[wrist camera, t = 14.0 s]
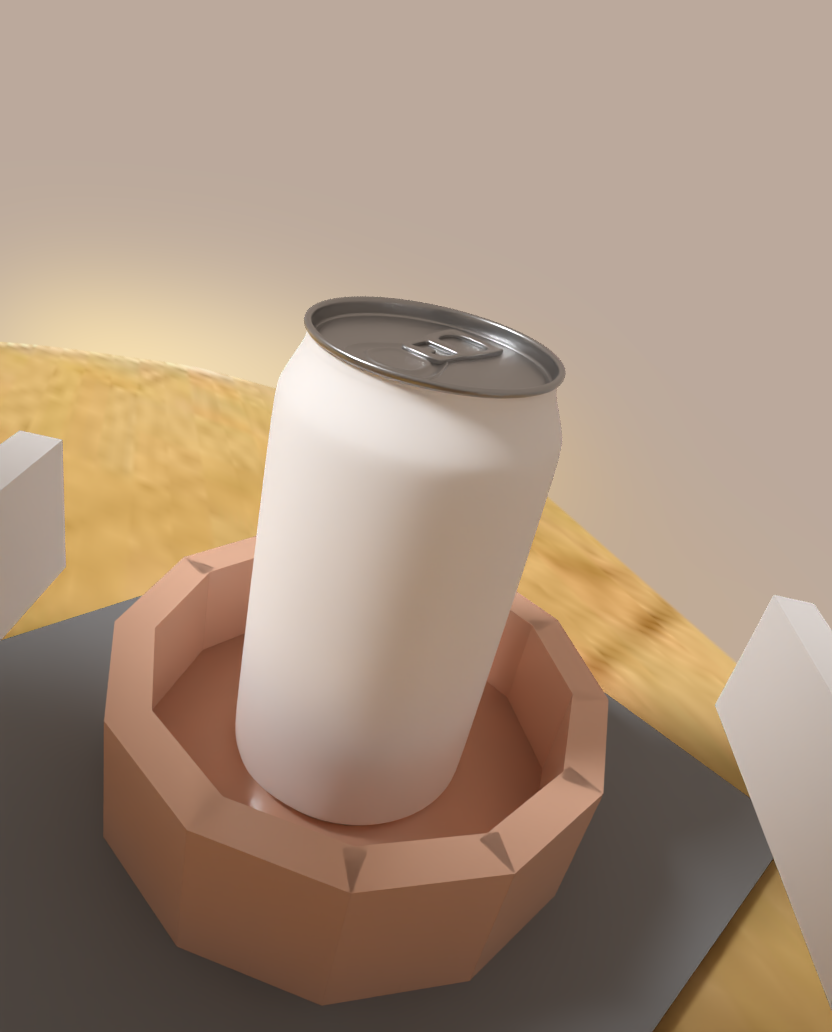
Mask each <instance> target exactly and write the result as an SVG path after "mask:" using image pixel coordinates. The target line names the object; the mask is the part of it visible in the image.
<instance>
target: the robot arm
mask: <svg viewBox="0 0 832 1032" xmlns="http://www.w3.org/2000/svg"><path fill="white" fill-rule="evenodd" d="M65 567H66V558H65V519H64V481H63V442H62V440H61V439H56V438H52V437H47V436H43V435H38V434H33V433H29V432H24V431H18V432H17V433H15V434H14V435H13V436H11V437H10V438H8V439H7V440H6V441H4V442H3V443H2V444H0V641H1V640H2V638H3V637H4V636H5V635H6V634H7V633H8V632H9V631H10V629H11V628H12V627H13V626H14V625H15V624H16V623H17V621H18V620H19V619H20V618H21V617H22V616H23V615H24V614H25V612H26V611H27V610H28V609H29V608H30V607H31V606H32V605H33V603H34V602H35V601H36V600H37V599H38V598H39V597H40V596H41V594H42V593H43V592H44V591H45V590H46V589H47V588H48V586H49V585H50V584H51V583H52V582H53V581H54V580H55V579H56V577H57V576H58V575H59V574H60V573H61V572H62V571H63V570H64V568H65ZM715 707H716V709H717V712H718V715H719V717H720V720H721V722H722V725H723V728H724V730H725V733H726V735H727V738H728V741H729V743H730V746H731V749H732V751H733V754H734V756H735V759H736V762H737V764H738V767H739V769H740V772H741V775H742V777H743V780H744V783H745V785H746V788H747V790H748V793H749V796H750V798H751V801H752V803H753V806H754V809H755V811H756V814H757V817H758V819H759V822H760V824H761V827H762V830H763V832H764V835H765V837H766V840H767V843H768V845H769V848H770V851H771V853H772V856H773V858H774V861H775V864H776V866H777V869H778V871H779V874H780V877H781V879H782V882H783V885H784V887H785V890H786V892H787V895H788V898H789V900H790V903H791V905H792V908H793V911H794V913H795V916H796V919H797V921H798V924H799V926H800V929H801V932H802V934H803V937H804V939H805V942H806V945H807V947H808V950H809V953H810V955H811V958H812V960H813V963H814V966H815V968H816V971H817V973H818V976H819V979H820V981H821V984H822V987H823V989H824V992H825V994H826V997H827V1000H828V1002H829V1005H830V1008H831V1010H832V630H831V629H830V627H829V626H828V624H827V623H826V621H825V620H824V618H823V617H822V615H821V613H820V612H819V611H818V609H817V607H816V606H815V604H814V603H809V602H804V601H800V600H795V599H791V598H786V597H781V596H777V595H774V596H773V597H772V599H771V601H770V603H769V605H768V607H767V609H766V610H765V612H764V614H763V616H762V618H761V620H760V622H759V623H758V625H757V627H756V629H755V631H754V633H753V635H752V637H751V639H750V640H749V642H748V644H747V646H746V648H745V650H744V652H743V654H742V655H741V657H740V659H739V661H738V663H737V665H736V666H735V668H734V670H733V672H732V674H731V676H730V678H729V680H728V681H727V683H726V685H725V687H724V689H723V691H722V693H721V694H720V696H719V698H718V700H717V702H716V704H715Z"/></svg>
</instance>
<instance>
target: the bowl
mask: <svg viewBox="0 0 832 1032" xmlns="http://www.w3.org/2000/svg"><path fill="white" fill-rule="evenodd" d="M256 537H257V536H255V537H251V538H248V539H244V540H241V541H238V542H234V543H231V544H227V545H224V546H220V547H217V548H214V549H210V550H207V551H203V552H200V553H197V554H193V555H190V556H186V557H184V558H182V559H181V560H180V561H179V562H178V563H177V564H176V565H175V566H174V567H173V568H172V569H171V570H170V571H168V572H167V573H166V574H165V575H164V576H163V577H162V578H161V579H160V580H159V581H158V582H157V583H156V584H154V585H153V586H152V587H151V588H150V589H149V590H148V591H147V592H146V593H145V594H144V595H143V596H142V597H140V598H139V599H138V600H137V601H136V602H135V603H134V604H133V605H132V606H131V607H130V608H129V609H128V610H126V611H125V612H124V613H123V614H122V615H121V616H120V617H119V618H118V619H117V620H116V621H115V622H114V632H113V642H112V651H111V660H110V670H109V679H108V689H107V698H106V707H105V717H104V803H103V837H104V838H105V840H106V841H107V843H108V844H109V846H110V847H111V849H112V850H113V852H114V853H115V855H116V856H117V858H118V859H119V861H120V862H121V864H122V865H123V867H124V868H125V870H126V871H127V873H128V874H129V876H130V877H131V879H132V880H133V882H134V883H135V885H136V886H137V888H138V889H139V891H140V892H141V894H142V895H143V897H144V898H145V900H146V901H147V903H148V904H149V906H150V907H151V909H152V910H153V912H154V913H155V915H156V916H157V918H158V919H159V921H160V922H161V924H162V925H163V927H164V928H165V930H166V931H167V933H168V934H169V936H170V937H171V939H172V940H173V942H174V943H175V945H176V946H177V947H179V948H182V949H184V950H187V951H189V952H191V953H194V954H196V955H199V956H201V957H204V958H206V959H209V960H211V961H214V962H216V963H218V964H221V965H223V966H226V967H228V968H231V969H233V970H236V971H238V972H240V973H243V974H245V975H248V976H250V977H253V978H255V979H258V980H260V981H262V982H265V983H267V984H270V985H272V986H275V987H277V988H280V989H282V990H284V991H287V992H289V993H292V994H294V995H297V996H299V997H302V998H304V999H307V1000H309V1001H311V1002H314V1003H316V1004H319V1005H321V1006H323V1005H329V1004H335V1003H341V1002H347V1001H353V1000H359V999H365V998H371V997H376V996H382V995H388V994H394V993H400V992H406V991H412V990H418V989H424V988H430V987H436V986H442V985H448V984H454V983H460V982H466V981H470V980H471V979H472V978H473V977H474V976H475V975H476V974H477V973H478V972H479V971H480V970H481V969H482V968H483V967H484V966H485V965H486V964H487V963H488V962H489V961H490V960H491V959H492V958H493V957H494V956H495V955H496V954H497V953H498V952H499V951H500V950H501V949H502V948H503V947H504V946H505V945H506V944H507V943H508V942H509V941H510V940H511V939H512V938H513V937H514V936H515V935H516V934H517V933H518V932H519V931H520V930H521V929H522V928H523V927H524V926H525V925H526V924H527V923H528V922H529V921H530V920H531V919H532V918H533V917H534V916H535V915H536V914H537V913H538V912H539V911H540V910H541V909H542V908H543V907H544V906H545V905H546V904H547V903H548V902H549V901H550V900H551V899H552V898H553V897H554V896H555V894H556V892H557V890H558V888H559V886H560V884H561V882H562V880H563V878H564V875H565V873H566V871H567V869H568V867H569V865H570V863H571V861H572V859H573V857H574V854H575V852H576V850H577V848H578V846H579V844H580V842H581V840H582V838H583V835H584V833H585V831H586V829H587V827H588V825H589V823H590V821H591V819H592V817H593V814H594V812H595V810H596V808H597V806H598V804H599V802H600V800H601V798H602V796H603V791H604V772H605V754H606V736H607V718H608V698H607V697H606V695H605V693H604V692H603V690H602V689H601V687H600V686H599V684H598V682H597V681H596V679H595V678H594V676H593V675H592V673H591V671H590V670H589V668H588V667H587V665H586V664H585V662H584V660H583V659H582V657H581V656H580V654H579V653H578V651H577V649H576V648H575V646H574V645H573V643H572V642H571V640H570V639H569V637H568V635H567V634H566V632H565V631H564V629H563V628H562V626H561V624H560V623H559V621H558V620H557V619H555V618H554V617H553V616H551V615H550V614H548V613H547V612H545V611H544V610H542V609H541V608H540V607H538V606H537V605H535V604H534V603H532V602H531V601H529V600H528V599H527V598H525V597H524V596H522V595H521V594H519V593H518V592H516V594H515V597H514V600H513V603H512V606H511V609H510V612H509V615H508V618H507V621H506V624H505V627H504V630H503V633H502V636H501V639H500V642H499V645H498V648H497V651H496V654H495V657H494V660H493V663H492V666H491V669H490V672H489V675H488V678H487V681H486V685H485V688H484V691H483V693H482V696H481V699H480V702H479V705H478V708H477V711H476V714H475V717H474V720H473V723H472V726H471V729H470V732H469V735H468V738H467V741H466V744H465V747H464V750H463V753H462V755H461V758H460V761H459V764H458V766H457V769H456V771H455V773H454V776H453V778H452V780H451V781H450V783H449V785H448V786H447V788H446V789H445V790H444V791H443V793H442V794H441V795H440V796H439V797H438V798H437V799H436V800H434V801H433V802H432V803H431V804H429V805H428V806H427V807H425V808H424V809H422V810H420V811H418V812H416V813H414V814H412V815H410V816H407V817H405V818H402V819H399V820H395V821H392V822H387V823H382V824H373V825H361V826H353V825H341V824H334V823H329V822H325V821H321V820H318V819H315V818H312V817H310V816H307V815H305V814H303V813H301V812H299V811H297V810H295V809H293V808H292V807H290V806H288V805H286V804H285V803H283V802H281V801H280V800H278V799H277V798H275V797H274V796H272V795H271V794H270V793H268V792H267V791H266V790H265V789H264V788H262V787H261V786H260V785H259V784H258V783H257V782H256V781H255V780H254V779H253V777H252V776H251V775H250V774H249V772H248V771H247V769H246V767H245V765H244V763H243V761H242V759H241V756H240V753H239V750H238V746H237V742H236V733H235V722H236V709H237V699H238V690H239V681H240V672H241V663H242V655H243V646H244V637H245V629H246V620H247V612H248V603H249V595H250V586H251V578H252V570H253V561H254V553H255V545H256Z"/></svg>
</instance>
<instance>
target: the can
mask: <svg viewBox="0 0 832 1032" xmlns="http://www.w3.org/2000/svg"><path fill="white" fill-rule="evenodd" d="M304 324H305V328H306V330H307V332H306V335H305V337H304V339H303V341H302V343H301V344H300V345H299V347H298V348H297V350H296V351H295V353H294V354H293V355H292V357H291V358H290V360H289V361H288V363H287V364H286V366H285V368H284V369H283V371H282V373H281V375H280V377H279V380H278V383H277V387H276V392H275V397H274V404H273V410H272V417H271V425H270V432H269V440H268V448H267V455H266V463H265V471H264V479H263V488H262V496H261V504H260V512H259V520H258V528H257V537H256V545H255V553H254V561H253V570H252V578H251V586H250V595H249V603H248V612H247V620H246V629H245V637H244V646H243V655H242V663H241V672H240V681H239V690H238V699H237V709H236V722H235V733H236V742H237V746H238V750H239V753H240V756H241V759H242V761H243V763H244V765H245V767H246V769H247V771H248V772H249V774H250V775H251V776H252V777H253V779H254V780H255V781H256V782H257V783H258V784H259V785H260V786H261V787H262V788H264V789H265V790H266V791H267V792H268V793H270V794H271V795H272V796H274V797H275V798H277V799H278V800H280V801H281V802H283V803H285V804H286V805H288V806H290V807H292V808H293V809H295V810H297V811H299V812H301V813H303V814H305V815H307V816H310V817H312V818H315V819H318V820H321V821H325V822H329V823H334V824H341V825H353V826H361V825H373V824H382V823H387V822H392V821H395V820H399V819H402V818H405V817H407V816H410V815H412V814H414V813H416V812H418V811H420V810H422V809H424V808H425V807H427V806H428V805H429V804H431V803H432V802H433V801H434V800H436V799H437V798H438V797H439V796H440V795H441V794H442V793H443V791H444V790H445V789H446V788H447V786H448V785H449V783H450V781H451V780H452V778H453V776H454V773H455V771H456V769H457V766H458V764H459V761H460V758H461V755H462V753H463V750H464V747H465V744H466V741H467V738H468V735H469V732H470V729H471V726H472V723H473V720H474V717H475V714H476V711H477V708H478V705H479V702H480V699H481V696H482V693H483V691H484V688H485V685H486V681H487V678H488V675H489V672H490V669H491V666H492V663H493V660H494V657H495V654H496V651H497V648H498V645H499V642H500V639H501V636H502V633H503V630H504V627H505V624H506V621H507V618H508V615H509V612H510V609H511V606H512V603H513V600H514V597H515V594H516V591H517V588H518V585H519V582H520V579H521V576H522V573H523V569H524V566H525V563H526V560H527V557H528V554H529V551H530V548H531V545H532V542H533V539H534V536H535V533H536V530H537V527H538V523H539V520H540V517H541V514H542V511H543V508H544V505H545V502H546V499H547V495H548V492H549V489H550V486H551V483H552V480H553V476H554V473H555V469H556V466H557V463H558V459H559V455H560V451H561V446H562V431H561V423H560V416H559V410H558V405H557V397H556V391H557V387H558V386H560V384H561V383H562V382H563V380H564V378H565V368H564V365H563V363H562V362H561V360H560V359H559V358H558V357H557V356H556V355H555V354H554V353H553V352H552V351H551V350H549V349H548V348H547V347H545V346H544V345H542V344H541V343H539V342H537V341H536V340H534V339H532V338H530V337H529V336H527V335H524V334H523V333H520V332H518V331H516V330H514V329H512V328H509V327H507V326H504V325H502V324H499V323H497V322H494V321H491V320H488V319H485V318H482V317H479V316H476V315H472V314H469V313H466V312H462V311H458V310H455V309H451V308H446V307H442V306H438V305H433V304H428V303H422V302H416V301H410V300H403V299H395V298H384V297H343V298H334V299H329V300H325V301H322V302H319V303H317V304H315V305H313V306H312V307H311V308H309V309H308V310H307V312H306V314H305V317H304Z"/></svg>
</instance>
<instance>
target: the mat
mask: <svg viewBox="0 0 832 1032" xmlns="http://www.w3.org/2000/svg"><path fill="white" fill-rule="evenodd" d="M140 597H142V596H139V597H136V598H133V599H130V600H127V601H124V602H120V603H117V604H114V605H111V606H108V607H105V608H102V609H98V610H95V611H92V612H89V613H86V614H83V615H80V616H76V617H73V618H70V619H67V620H64V621H61V622H57V623H54V624H51V625H48V626H45V627H42V628H39V629H35V630H32V631H29V632H26V633H23V634H20V635H16V636H13V637H10V638H7V639H4V640H1V641H0V1032H653V1030H654V1029H655V1027H656V1026H657V1024H658V1023H659V1021H660V1020H661V1019H662V1017H663V1016H664V1014H665V1013H666V1011H667V1010H668V1009H669V1007H670V1006H671V1004H672V1003H673V1001H674V1000H675V999H676V997H677V996H678V994H679V993H680V991H681V990H682V989H683V987H684V986H685V984H686V983H687V981H688V980H689V978H690V977H691V976H692V974H693V973H694V971H695V970H696V968H697V967H698V966H699V964H700V963H701V961H702V960H703V958H704V957H705V956H706V954H707V953H708V951H709V950H710V948H711V947H712V946H713V944H714V943H715V941H716V940H717V938H718V937H719V935H720V934H721V933H722V931H723V930H724V928H725V927H726V925H727V924H728V923H729V921H730V920H731V918H732V917H733V915H734V914H735V913H736V911H737V910H738V908H739V907H740V905H741V904H742V903H743V901H744V900H745V898H746V897H747V895H748V894H749V892H750V891H751V890H752V888H753V887H754V885H755V884H756V882H757V881H758V880H759V878H760V877H761V875H762V874H763V872H764V871H765V870H766V868H767V867H768V865H769V864H770V862H771V861H772V860H773V856H772V853H771V851H770V848H769V845H768V843H767V840H766V837H765V835H764V832H763V830H762V827H761V824H760V822H759V819H758V817H757V814H756V811H755V809H754V806H753V803H752V801H751V798H749V797H748V796H746V795H745V794H744V793H742V792H741V791H739V790H738V789H737V788H735V787H734V786H733V785H731V784H730V783H728V782H727V781H726V780H724V779H723V778H722V777H720V776H719V775H717V774H716V773H715V772H713V771H712V770H711V769H709V768H708V767H706V766H705V765H704V764H702V763H701V762H700V761H698V760H697V759H695V758H694V757H693V756H691V755H690V754H689V753H687V752H686V751H684V750H683V749H682V748H680V747H679V746H678V745H676V744H675V743H673V742H672V741H671V740H669V739H668V738H666V737H665V736H664V735H662V734H661V733H660V732H658V731H657V730H655V729H654V728H653V727H651V726H650V725H649V724H647V723H646V722H644V721H643V720H642V719H640V718H639V717H638V716H636V715H635V714H633V713H632V712H631V711H629V710H628V709H627V708H625V707H624V706H622V705H621V704H620V703H618V702H617V701H616V700H614V699H613V698H611V697H610V696H609V695H607V694H606V693H605V695H606V697H607V698H608V718H607V736H606V754H605V772H604V791H603V796H602V798H601V800H600V802H599V804H598V806H597V808H596V810H595V812H594V814H593V817H592V819H591V821H590V823H589V825H588V827H587V829H586V831H585V833H584V835H583V838H582V840H581V842H580V844H579V846H578V848H577V850H576V852H575V854H574V857H573V859H572V861H571V863H570V865H569V867H568V869H567V871H566V873H565V875H564V878H563V880H562V882H561V884H560V886H559V888H558V890H557V892H556V894H555V896H554V897H553V898H552V899H551V900H550V901H549V902H548V903H547V904H546V905H545V906H544V907H543V908H542V909H541V910H540V911H539V912H538V913H537V914H536V915H535V916H534V917H533V918H532V919H531V920H530V921H529V922H528V923H527V924H526V925H525V926H524V927H523V928H522V929H521V930H520V931H519V932H518V933H517V934H516V935H515V936H514V937H513V938H512V939H511V940H510V941H509V942H508V943H507V944H506V945H505V946H504V947H503V948H502V949H501V950H500V951H499V952H498V953H497V954H496V955H495V956H494V957H493V958H492V959H491V960H490V961H489V962H488V963H487V964H486V965H485V966H484V967H483V968H482V969H481V970H480V971H479V972H478V973H477V974H476V975H475V976H474V977H473V978H472V979H471V980H470V981H466V982H460V983H454V984H448V985H442V986H436V987H430V988H424V989H418V990H412V991H406V992H400V993H394V994H388V995H382V996H376V997H371V998H365V999H359V1000H353V1001H347V1002H341V1003H335V1004H329V1005H323V1006H321V1005H319V1004H316V1003H314V1002H311V1001H309V1000H307V999H304V998H302V997H299V996H297V995H294V994H292V993H289V992H287V991H284V990H282V989H280V988H277V987H275V986H272V985H270V984H267V983H265V982H262V981H260V980H258V979H255V978H253V977H250V976H248V975H245V974H243V973H240V972H238V971H236V970H233V969H231V968H228V967H226V966H223V965H221V964H218V963H216V962H214V961H211V960H209V959H206V958H204V957H201V956H199V955H196V954H194V953H191V952H189V951H187V950H184V949H182V948H179V947H177V946H176V945H175V943H174V942H173V940H172V939H171V937H170V936H169V934H168V933H167V931H166V930H165V928H164V927H163V925H162V924H161V922H160V921H159V919H158V918H157V916H156V915H155V913H154V912H153V910H152V909H151V907H150V906H149V904H148V903H147V901H146V900H145V898H144V897H143V895H142V894H141V892H140V891H139V889H138V888H137V886H136V885H135V883H134V882H133V880H132V879H131V877H130V876H129V874H128V873H127V871H126V870H125V868H124V867H123V865H122V864H121V862H120V861H119V859H118V858H117V856H116V855H115V853H114V852H113V850H112V849H111V847H110V846H109V844H108V843H107V841H106V840H105V838H104V837H103V803H104V717H105V707H106V698H107V689H108V679H109V670H110V660H111V651H112V642H113V632H114V622H115V621H116V620H117V619H118V618H119V617H120V616H121V615H122V614H123V613H124V612H125V611H126V610H128V609H129V608H130V607H131V606H132V605H133V604H134V603H135V602H136V601H137V600H138V599H139V598H140Z"/></svg>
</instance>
